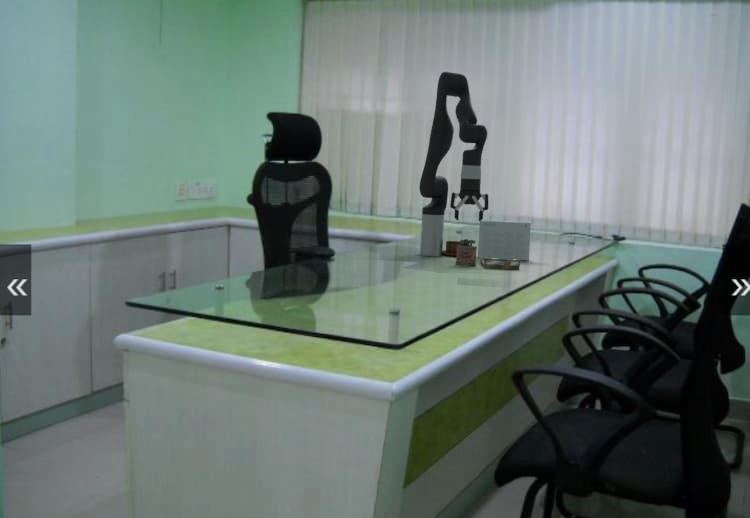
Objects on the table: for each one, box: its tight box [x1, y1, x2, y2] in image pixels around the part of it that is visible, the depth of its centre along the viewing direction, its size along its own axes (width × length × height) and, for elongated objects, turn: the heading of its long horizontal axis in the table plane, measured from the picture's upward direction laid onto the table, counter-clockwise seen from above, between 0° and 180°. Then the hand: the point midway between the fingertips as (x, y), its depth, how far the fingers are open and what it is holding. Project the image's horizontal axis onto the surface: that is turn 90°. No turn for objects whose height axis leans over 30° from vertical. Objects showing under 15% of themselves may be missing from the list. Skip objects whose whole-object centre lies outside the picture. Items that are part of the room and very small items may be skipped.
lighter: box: [455, 238, 478, 268], centre depth 313 cm, size 8×3×10 cm, turn 62°
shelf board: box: [479, 258, 521, 271], centre depth 315 cm, size 13×17×4 cm
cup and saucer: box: [442, 240, 460, 257], centre depth 347 cm, size 12×12×6 cm
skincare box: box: [477, 220, 532, 262], centre depth 343 cm, size 21×5×16 cm, turn 84°
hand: (468, 220), depth 312 cm, fingers open, 8 cm apart
